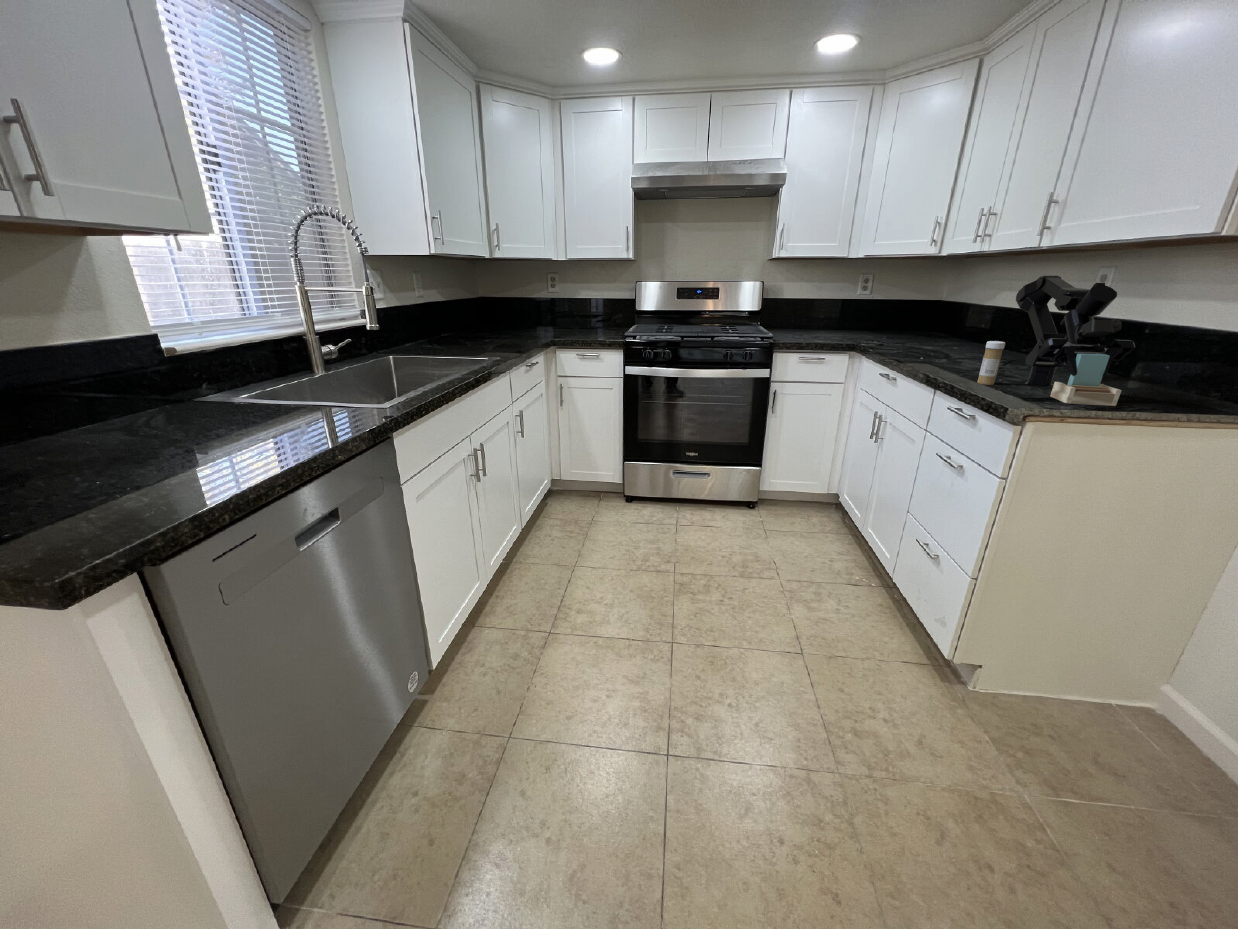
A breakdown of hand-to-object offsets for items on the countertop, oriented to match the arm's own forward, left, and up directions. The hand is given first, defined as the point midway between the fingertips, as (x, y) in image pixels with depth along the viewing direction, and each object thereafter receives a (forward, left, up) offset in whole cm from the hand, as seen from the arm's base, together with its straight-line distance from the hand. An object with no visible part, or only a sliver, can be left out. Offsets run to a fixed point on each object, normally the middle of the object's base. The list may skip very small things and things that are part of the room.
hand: (1089, 375), depth 129 cm
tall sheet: (-1, -1, -6) cm, 6 cm away
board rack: (0, 0, -7) cm, 8 cm away
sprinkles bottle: (-10, -23, -8) cm, 26 cm away
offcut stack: (+1, +1, -7) cm, 7 cm away
